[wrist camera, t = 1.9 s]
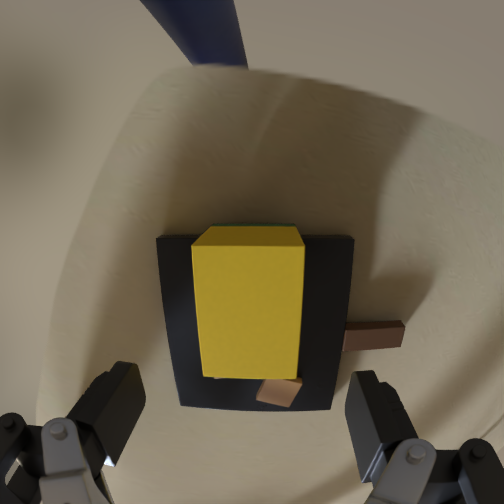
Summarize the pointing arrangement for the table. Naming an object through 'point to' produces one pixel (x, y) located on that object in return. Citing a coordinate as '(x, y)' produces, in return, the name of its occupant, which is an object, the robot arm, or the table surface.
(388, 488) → the robot arm
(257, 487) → the table surface
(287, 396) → the scrap
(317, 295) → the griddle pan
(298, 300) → the sponge
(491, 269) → the table surface
